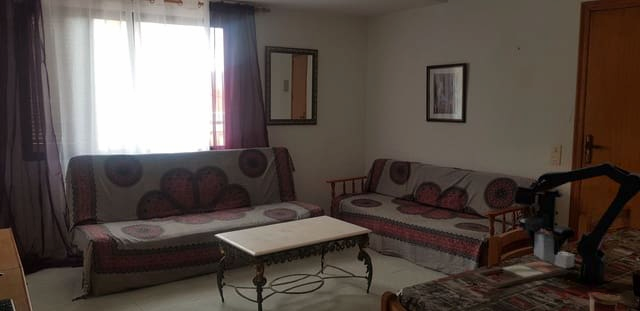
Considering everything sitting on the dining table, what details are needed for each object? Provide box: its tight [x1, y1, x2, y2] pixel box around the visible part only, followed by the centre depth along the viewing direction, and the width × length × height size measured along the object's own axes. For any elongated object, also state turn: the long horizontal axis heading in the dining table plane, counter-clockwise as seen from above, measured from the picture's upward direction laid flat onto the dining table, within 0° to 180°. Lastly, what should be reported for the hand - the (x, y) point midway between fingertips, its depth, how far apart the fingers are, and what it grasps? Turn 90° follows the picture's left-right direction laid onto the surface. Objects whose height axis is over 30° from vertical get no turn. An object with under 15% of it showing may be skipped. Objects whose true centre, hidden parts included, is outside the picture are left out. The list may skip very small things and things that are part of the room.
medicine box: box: [533, 232, 556, 262], centre depth 173 cm, size 8×4×9 cm, turn 179°
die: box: [554, 250, 575, 269], centre depth 178 cm, size 4×4×5 cm
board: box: [470, 260, 569, 289], centre depth 169 cm, size 12×33×1 cm, turn 116°
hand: (544, 251), depth 173 cm, fingers closed on medicine box, 9 cm apart
